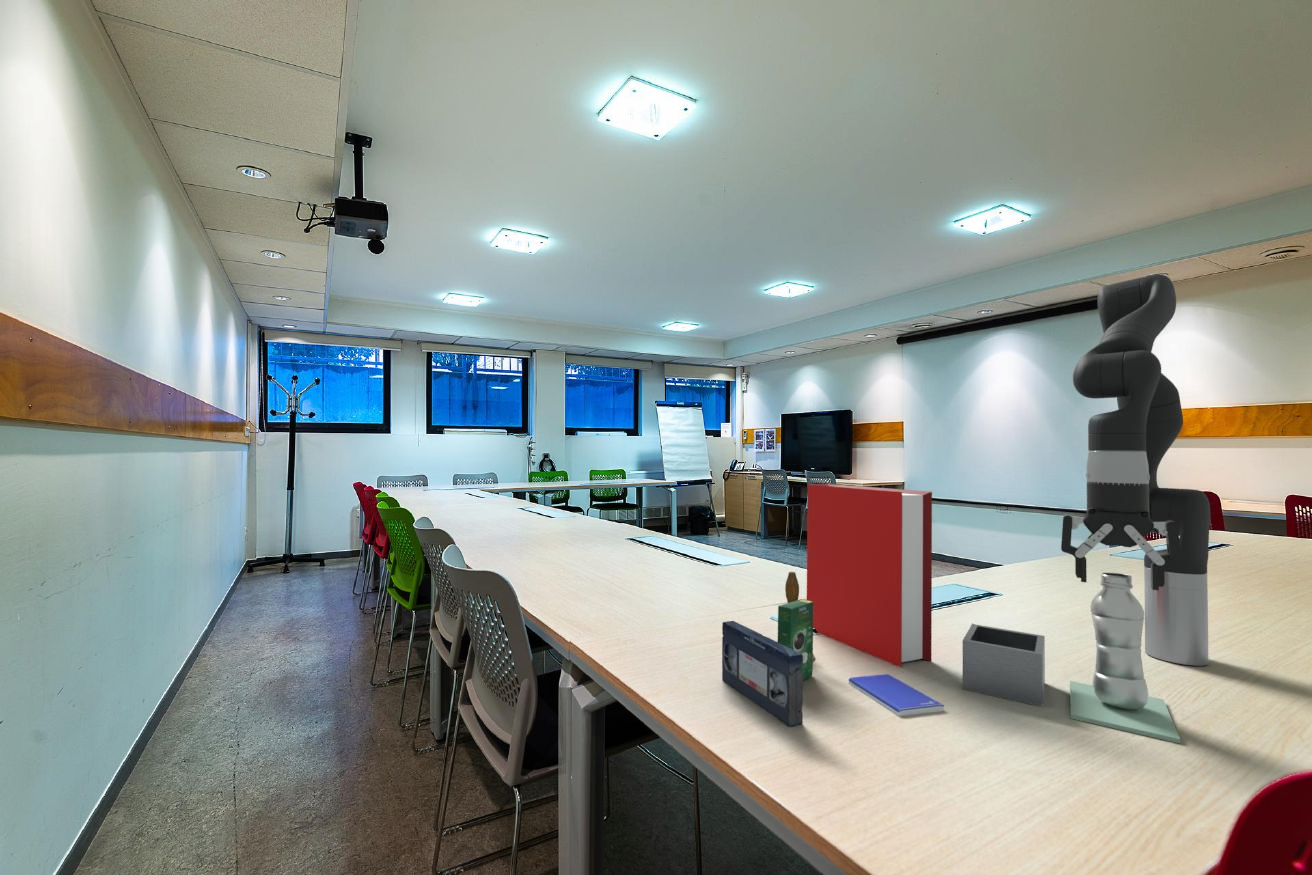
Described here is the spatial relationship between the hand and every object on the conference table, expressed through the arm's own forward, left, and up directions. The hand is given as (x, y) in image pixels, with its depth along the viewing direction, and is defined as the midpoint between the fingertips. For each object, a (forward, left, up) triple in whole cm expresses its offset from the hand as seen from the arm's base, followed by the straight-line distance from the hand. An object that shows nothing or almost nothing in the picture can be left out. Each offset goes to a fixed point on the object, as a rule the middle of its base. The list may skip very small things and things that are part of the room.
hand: (1118, 585), depth 88 cm
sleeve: (0, -15, -19) cm, 24 cm away
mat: (0, 0, -19) cm, 19 cm away
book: (-8, -41, -19) cm, 46 cm away
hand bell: (+9, -49, -19) cm, 53 cm away
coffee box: (+20, -44, -19) cm, 52 cm away
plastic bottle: (0, 0, -19) cm, 19 cm away
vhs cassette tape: (+31, -45, -19) cm, 58 cm away
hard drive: (+16, -29, -20) cm, 39 cm away
